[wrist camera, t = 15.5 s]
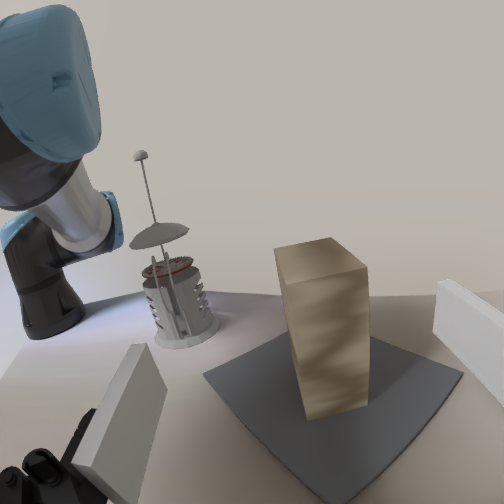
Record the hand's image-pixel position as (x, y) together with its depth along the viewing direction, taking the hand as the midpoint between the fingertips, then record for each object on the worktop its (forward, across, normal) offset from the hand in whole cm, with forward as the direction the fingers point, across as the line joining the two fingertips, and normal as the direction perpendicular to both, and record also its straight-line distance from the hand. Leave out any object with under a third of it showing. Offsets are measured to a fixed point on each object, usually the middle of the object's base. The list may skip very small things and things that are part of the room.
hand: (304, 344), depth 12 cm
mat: (+9, +3, -12) cm, 15 cm away
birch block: (+9, +3, -12) cm, 15 cm away
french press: (+25, -13, -12) cm, 31 cm away
